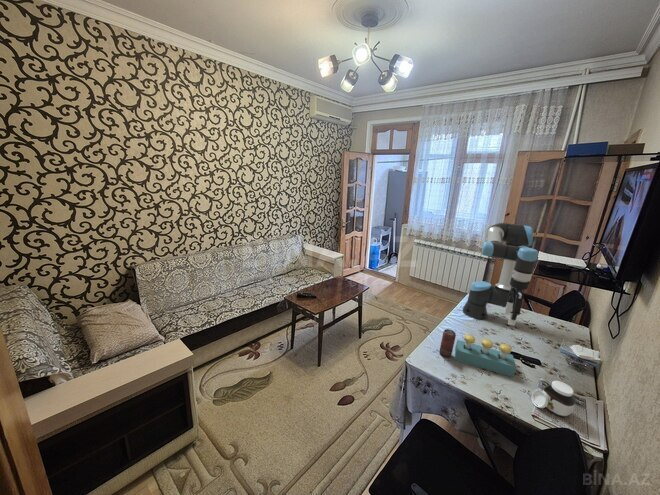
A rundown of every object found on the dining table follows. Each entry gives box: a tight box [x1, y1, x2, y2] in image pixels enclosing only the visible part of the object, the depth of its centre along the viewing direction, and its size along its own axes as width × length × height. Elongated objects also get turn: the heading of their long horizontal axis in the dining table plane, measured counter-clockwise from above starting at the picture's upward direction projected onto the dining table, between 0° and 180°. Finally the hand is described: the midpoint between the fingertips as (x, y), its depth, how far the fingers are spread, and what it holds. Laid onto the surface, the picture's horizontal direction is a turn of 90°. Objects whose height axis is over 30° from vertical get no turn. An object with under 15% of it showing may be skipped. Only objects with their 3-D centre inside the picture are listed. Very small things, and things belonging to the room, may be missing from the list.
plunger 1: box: [464, 333, 476, 350], centre depth 139 cm, size 5×5×8 cm
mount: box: [454, 339, 517, 378], centre depth 138 cm, size 10×26×6 cm, turn 65°
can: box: [438, 328, 457, 359], centre depth 141 cm, size 6×6×14 cm
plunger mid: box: [481, 338, 494, 355], centre depth 136 cm, size 5×5×8 cm
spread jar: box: [530, 380, 576, 417], centre depth 112 cm, size 12×11×12 cm
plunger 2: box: [499, 343, 512, 361], centre depth 133 cm, size 5×5×8 cm
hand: (509, 319), depth 136 cm, fingers open, 10 cm apart
